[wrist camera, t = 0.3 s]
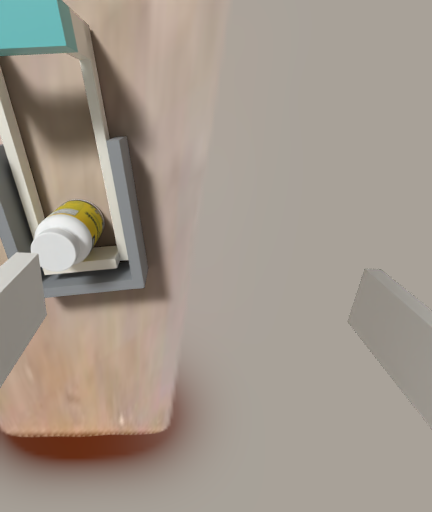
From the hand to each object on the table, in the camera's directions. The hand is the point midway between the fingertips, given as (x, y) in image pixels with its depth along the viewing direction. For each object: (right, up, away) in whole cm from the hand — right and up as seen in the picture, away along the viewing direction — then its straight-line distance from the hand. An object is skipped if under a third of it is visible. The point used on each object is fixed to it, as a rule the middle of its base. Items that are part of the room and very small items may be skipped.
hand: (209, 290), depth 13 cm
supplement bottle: (-16, +6, +25) cm, 30 cm away
